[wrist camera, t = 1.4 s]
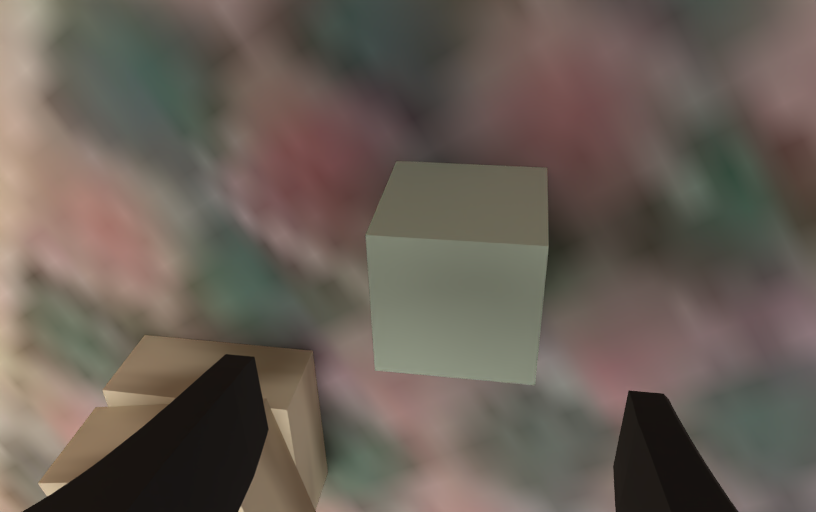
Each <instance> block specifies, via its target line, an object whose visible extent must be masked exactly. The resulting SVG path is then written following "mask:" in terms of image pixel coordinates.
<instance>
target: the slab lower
mask: <svg viewBox="0 0 816 512" xmlns="http://www.w3.org/2000/svg"><path fill="white" fill-rule="evenodd" d="M225 354H231V355H242V356H253V357H255V361H256V367H257V372H258V377H259V382H260V387H261V392H262V397H263V399H264V398H266V399H267V401H268V403H269V406H270V408H271V410H272V413H273V415H274V417H275V419H276V422H277V424H278V426H279V429H280V431H281V433H282V435H283V438H284V440H285V442H286V444H287V447H288V449H289V451H290V454H291V456H292V458H293V460H294V463H295V465H296V467H297V470H298V472H299V474H300V477H301V479H302V481H303V483H304V486H305V488H306V490H307V493H308V495H309V497H310V499H311V502H312V504H313V506H314V509H315V510H316V507H317V504H318V501H319V498H320V495H321V492H322V489H323V486H324V483H325V480H326V477H327V474H328V468H327V460H326V452H325V444H324V436H323V429H322V421H321V413H320V405H319V397H318V389H317V381H316V373H315V365H314V357H313V351H311V350H300V349H289V348H279V347H268V346H257V345H247V344H236V343H225V342H214V341H204V340H193V339H182V338H172V337H161V336H150V335H144V337H143V338H142V339H141V341H140V342H139V343H138V344H137V346H136V347H135V348H134V350H133V351H132V352H131V353H130V355H129V356H128V357H127V359H126V360H125V361H124V363H123V364H122V365H121V366H120V368H119V369H118V370H117V372H116V373H115V374H114V376H113V377H112V378H111V379H110V381H109V382H108V383H107V385H106V386H105V387H104V389H103V393H104V396H105V399H106V402H107V405H108V407H116V406H135V405H154V404H170V403H171V402H172V401H173V400H174V399H175V398H177V397H178V396H179V395H180V394H181V393H182V392H183V391H184V390H186V389H187V388H188V387H189V386H190V385H191V384H192V383H193V382H195V381H196V380H197V379H198V378H199V377H200V376H201V375H202V374H203V373H205V372H206V371H207V370H208V369H209V368H210V367H211V366H213V365H214V364H215V363H216V362H217V361H218V360H219V359H221V358H222V357H223V356H224V355H225Z"/></svg>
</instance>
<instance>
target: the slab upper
mask: <svg viewBox="0 0 816 512" xmlns="http://www.w3.org/2000/svg"><path fill="white" fill-rule="evenodd" d="M263 403H264V408H265V413H266V418H267V423H268V428H269V430H268V433H267V437H266V440H265V443H264V447H263V450H262V453H261V457H260V460H259V463H258V466H257V469H256V472H255V475H254V478H253V480H252V482H251V485H250V487H249V489H248V491H247V493H246V496H245V498H244V500H243V502H242V505H241V507H240V509H239V511H238V512H316V511H315V509H314V506H313V504H312V502H311V499H310V497H309V495H308V493H307V490H306V488H305V486H304V483H303V481H302V479H301V477H300V474H299V472H298V470H297V467H296V465H295V463H294V460H293V458H292V456H291V454H290V451H289V449H288V447H287V444H286V442H285V440H284V438H283V435H282V433H281V431H280V429H279V426H278V424H277V422H276V419H275V417H274V415H273V413H272V410H271V408H270V406H269V403H268V401H267V399H266V398H264V399H263ZM167 405H169V404H154V405H135V406H116V407H96V408H95V409H94V410H93V412H92V413H91V414H90V416H89V417H88V418H87V420H86V421H85V422H84V423H83V425H82V426H81V427H80V429H79V430H78V431H77V433H76V434H75V435H74V437H73V438H72V439H71V441H70V442H69V443H68V444H67V446H66V447H65V448H64V450H63V451H62V452H61V454H60V455H59V456H58V458H57V459H56V460H55V461H54V463H53V464H52V465H51V467H50V468H49V469H48V471H47V472H46V473H45V475H44V476H43V477H42V479H41V480H40V481H39V482H38V484H39V486H40V487H41V488H42V490H43V491H44V493H45V494H46V495H47V497H48V496H49V495H51V494H52V493H54V492H55V491H57V490H58V489H60V488H61V487H63V486H64V485H66V484H67V483H69V482H70V481H72V480H73V479H75V478H76V477H78V476H79V475H80V474H82V473H83V472H85V471H86V470H87V469H89V468H90V467H92V466H93V465H94V464H96V463H97V462H98V461H100V460H101V459H103V458H104V457H105V456H106V455H108V454H109V453H110V452H111V451H113V450H114V449H115V448H116V447H118V446H119V445H120V444H122V443H123V442H124V441H125V440H127V439H128V438H129V437H130V436H132V435H133V434H134V433H135V432H137V431H138V430H139V429H140V428H142V427H143V426H144V425H145V424H146V423H148V422H149V421H150V420H151V419H152V418H153V417H155V416H156V415H157V414H158V413H159V412H160V411H162V410H163V409H164V408H165V407H166V406H167Z"/></svg>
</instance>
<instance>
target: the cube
mask: <svg viewBox="0 0 816 512" xmlns="http://www.w3.org/2000/svg"><path fill="white" fill-rule="evenodd" d="M365 236H366V250H367V264H368V278H369V293H370V307H371V321H372V335H373V350H374V364H375V371H386V372H397V373H408V374H419V375H430V376H440V377H451V378H462V379H473V380H484V381H495V382H506V383H517V384H528V385H535V380H536V370H537V360H538V349H539V339H540V329H541V319H542V309H543V299H544V289H545V279H546V269H547V259H548V249H549V233H548V181H547V168H542V167H520V166H497V165H475V164H453V163H431V162H409V161H396V163H395V166H394V168H393V170H392V173H391V175H390V178H389V180H388V182H387V185H386V187H385V189H384V192H383V194H382V197H381V199H380V201H379V204H378V206H377V209H376V211H375V213H374V216H373V218H372V221H371V223H370V225H369V228H368V230H367V232H366V235H365Z"/></svg>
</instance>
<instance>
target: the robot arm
mask: <svg viewBox="0 0 816 512" xmlns="http://www.w3.org/2000/svg"><path fill="white" fill-rule="evenodd" d="M268 430H269V428H268V423H267V418H266V413H265V408H264V403H263V397H262V392H261V387H260V382H259V377H258V372H257V367H256V361H255V357H253V356H242V355H231V354H225V355H224V356H223V357H222V358H221V359H219V360H218V361H217V362H216V363H215V364H214V365H213V366H211V367H210V368H209V369H208V370H207V371H206V372H205V373H203V374H202V375H201V376H200V377H199V378H198V379H197V380H196V381H195V382H193V383H192V384H191V385H190V386H189V387H188V388H187V389H186V390H184V391H183V392H182V393H181V394H180V395H179V396H178V397H177V398H175V399H174V400H173V401H172V402H171V403H170V404H169V405H167V406H166V407H165V408H164V409H163V410H162V411H160V412H159V413H158V414H157V415H156V416H155V417H153V418H152V419H151V420H150V421H149V422H148V423H146V424H145V425H144V426H143V427H142V428H140V429H139V430H138V431H137V432H135V433H134V434H133V435H132V436H130V437H129V438H128V439H127V440H125V441H124V442H123V443H122V444H120V445H119V446H118V447H116V448H115V449H114V450H113V451H111V452H110V453H109V454H108V455H106V456H105V457H104V458H103V459H101V460H100V461H98V462H97V463H96V464H94V465H93V466H92V467H90V468H89V469H87V470H86V471H85V472H83V473H82V474H80V475H79V476H78V477H76V478H75V479H73V480H72V481H70V482H69V483H67V484H66V485H64V486H63V487H61V488H60V489H58V490H57V491H55V492H54V493H52V494H51V495H49V496H48V497H46V498H44V499H43V500H41V501H40V502H38V503H36V504H35V505H33V506H31V507H30V508H28V509H26V510H24V511H23V512H238V511H239V509H240V507H241V505H242V502H243V500H244V498H245V496H246V493H247V491H248V489H249V487H250V485H251V482H252V480H253V478H254V475H255V472H256V469H257V466H258V463H259V460H260V457H261V453H262V450H263V447H264V443H265V440H266V437H267V433H268ZM613 468H614V489H615V507H616V512H738V511H737V509H736V508H735V506H734V505H733V504H732V502H731V501H730V499H729V498H728V496H727V495H726V493H725V492H724V490H723V489H722V487H721V486H720V484H719V483H718V481H717V480H716V478H715V477H714V475H713V474H712V472H711V471H710V469H709V468H708V466H707V465H706V463H705V462H704V460H703V458H702V457H701V455H700V454H699V452H698V450H697V449H696V447H695V445H694V444H693V442H692V440H691V439H690V437H689V435H688V434H687V432H686V430H685V428H684V427H683V425H682V423H681V421H680V420H679V418H678V416H677V414H676V412H675V411H674V409H673V407H672V405H671V403H670V401H669V399H668V398H667V397H666V396H665V395H664V394H660V393H649V392H638V391H629V392H628V397H627V402H626V406H625V411H624V416H623V421H622V426H621V431H620V436H619V441H618V446H617V451H616V456H615V461H614V466H613Z"/></svg>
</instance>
